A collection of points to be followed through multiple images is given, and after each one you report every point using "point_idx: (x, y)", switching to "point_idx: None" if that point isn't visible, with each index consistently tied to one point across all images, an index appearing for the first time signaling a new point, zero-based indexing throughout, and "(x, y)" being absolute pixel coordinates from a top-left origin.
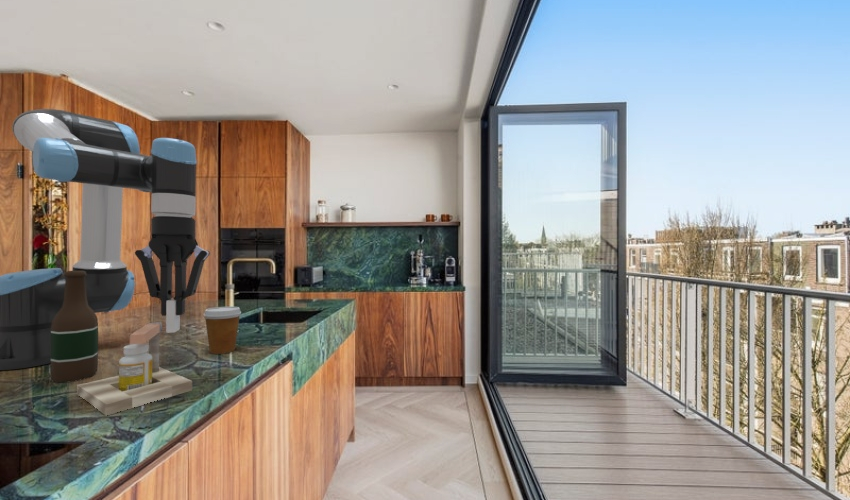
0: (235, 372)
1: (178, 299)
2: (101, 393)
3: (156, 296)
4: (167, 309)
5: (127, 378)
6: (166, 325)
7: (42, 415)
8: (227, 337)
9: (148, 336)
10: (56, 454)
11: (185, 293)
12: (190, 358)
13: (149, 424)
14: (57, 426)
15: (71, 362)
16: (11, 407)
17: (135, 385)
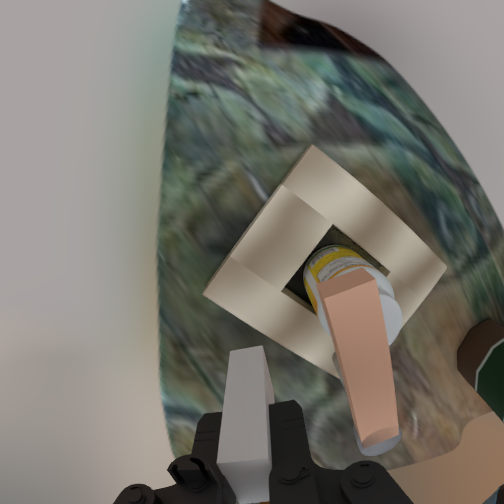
0: (176, 387)
1: (179, 459)
2: (371, 213)
3: (346, 476)
4: (261, 419)
5: (344, 256)
6: (261, 362)
7: (427, 164)
8: (267, 501)
9: (331, 332)
10: (272, 15)
11: (151, 501)
12: (328, 452)
13: (186, 108)
14: (364, 109)
15: (495, 341)
16: (489, 208)
17: (323, 256)
